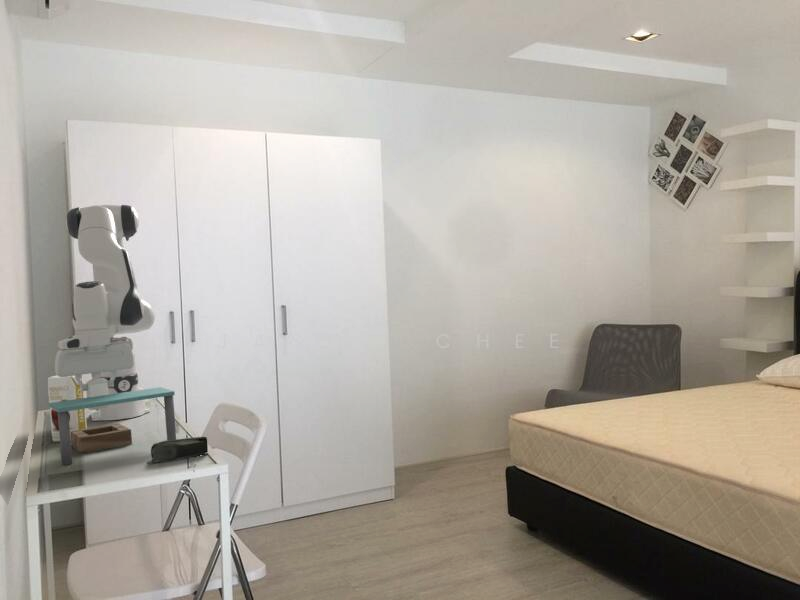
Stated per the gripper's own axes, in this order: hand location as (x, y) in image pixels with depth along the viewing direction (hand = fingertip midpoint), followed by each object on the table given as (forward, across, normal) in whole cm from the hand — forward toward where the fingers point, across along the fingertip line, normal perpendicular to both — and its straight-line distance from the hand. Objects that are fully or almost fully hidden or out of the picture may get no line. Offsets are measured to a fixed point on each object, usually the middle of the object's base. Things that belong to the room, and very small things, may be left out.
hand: (97, 388), depth 193 cm
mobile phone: (+17, -10, +33) cm, 39 cm away
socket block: (+16, 0, 0) cm, 16 cm away
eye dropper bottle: (+6, 0, 0) cm, 6 cm away
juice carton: (+16, +5, -16) cm, 23 cm away
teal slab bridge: (+16, -1, +11) cm, 19 cm away
